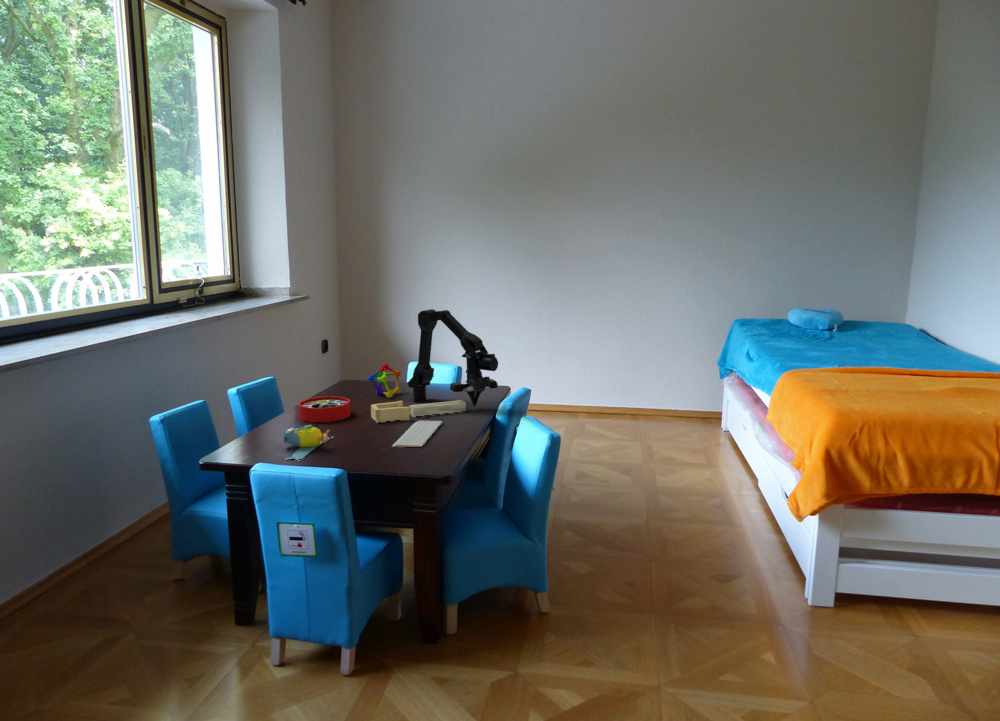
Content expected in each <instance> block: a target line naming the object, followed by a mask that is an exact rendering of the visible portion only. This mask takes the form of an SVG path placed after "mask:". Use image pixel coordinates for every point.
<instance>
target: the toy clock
mask: <svg viewBox="0 0 1000 721" xmlns="http://www.w3.org/2000/svg"><path fill="white" fill-rule="evenodd" d="M297 406H298V418H299V420H300V419H301V420H300V421H302V420H303V421H302V422H305V421H308V422H307V423H313V422H324V423H331V422H330V421H333V422H337V421H336V420H339V421H342V420H345V419H348V418H350V416H351V400H350V399H349V398H347V397H344V396H336V395H335V396H329V395H328V396H317V397H316V396H315V397H311V398H307V399H304V400H303V399H302V400H301V401H299V402H298V405H297ZM347 417H348V418H347ZM344 418H345V419H344ZM341 419H342V420H341Z"/></svg>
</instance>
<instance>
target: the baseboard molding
mask: <svg viewBox="0 0 1000 721" xmlns="http://www.w3.org/2000/svg"><path fill="white" fill-rule="evenodd" d="M424 417H425V418H424V419H432V418H431V417H430V416H424ZM414 418H415V419H417V420H418V421H414V422H415V423H414V422H413V424H411V426H410V427H409V428H408V429H406V431H405V432H404V433H403V434H401V436H400V437H399V438H398V439H397V440H396V441H395V442H394V443H393V444H392V445H391V448H404V447H422V446H423V445H424V446H425V445H426V444H427V442H428V441H429V440H430V439H431V438H432V436H433V435H434V434H435V433H436V431H437V430H438V429H439V428H440V427H439V426H441V425H442V424H443V420H422V418H421V417H414ZM415 419H414V420H415ZM419 419H420V420H419ZM438 427H439V428H438ZM433 433H434V434H433ZM432 434H433V435H432ZM428 439H429V440H428ZM427 440H428V441H427ZM424 446H423V447H424ZM423 447H422V448H423Z"/></svg>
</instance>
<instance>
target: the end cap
mask: <svg viewBox="0 0 1000 721" xmlns="http://www.w3.org/2000/svg"><path fill="white" fill-rule="evenodd" d="M370 416H371V419H373V421H374V420H375V421H376V422H375V421H374V422H375V423H376V424H379V422H381V423H387V422H386V421H390V422H396V421H395V420H400V421H410V420H411V415H410V408H409V406H404V400H398V401H397V400H396V401H392V402H382V403H372V404H370Z"/></svg>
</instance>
